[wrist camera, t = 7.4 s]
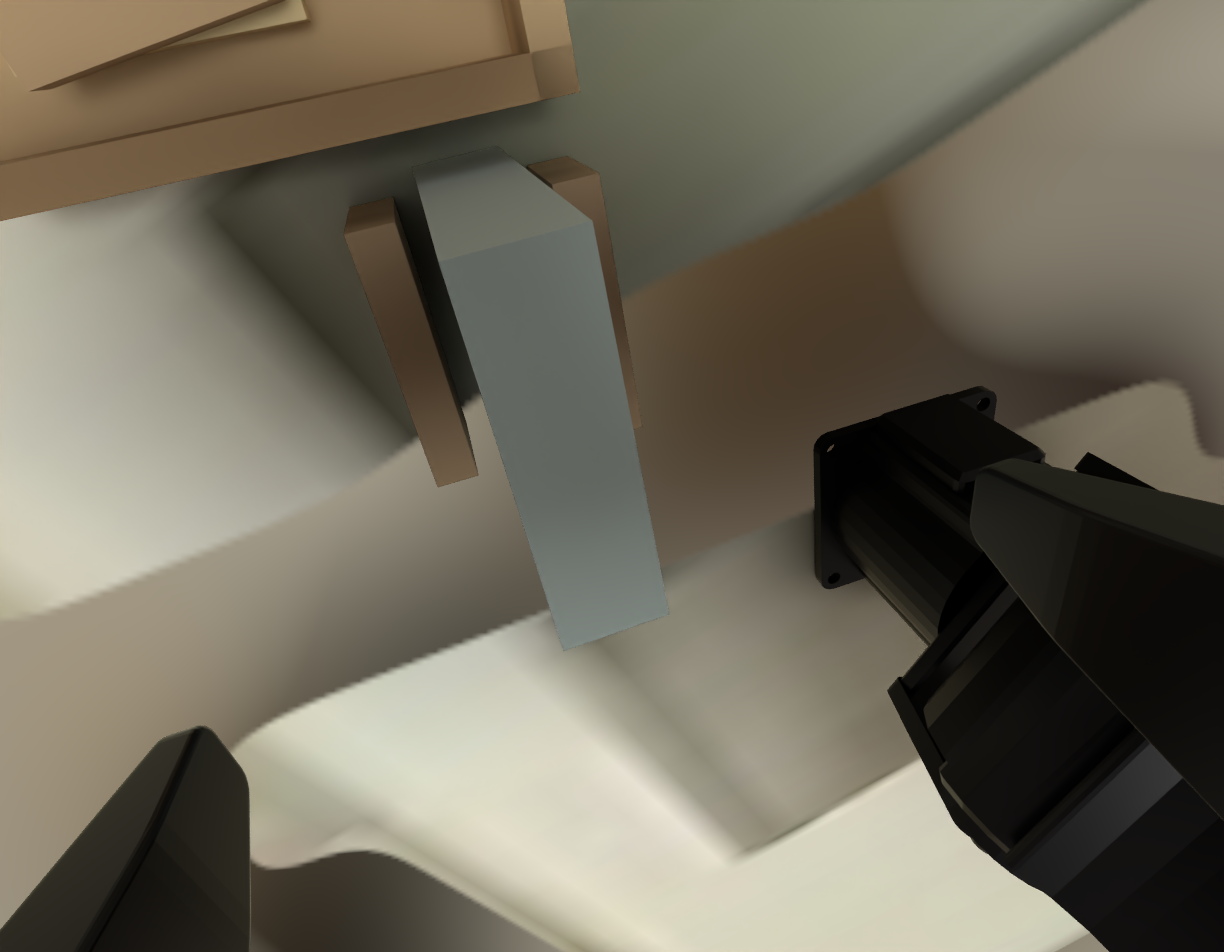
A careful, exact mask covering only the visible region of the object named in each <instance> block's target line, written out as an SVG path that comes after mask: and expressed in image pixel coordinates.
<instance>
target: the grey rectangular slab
mask: <svg viewBox="0 0 1224 952" xmlns="http://www.w3.org/2000/svg"><path fill="white" fill-rule="evenodd" d="M412 169H413V172H414V176H415V180H416V183H417V187H418V190H419V194H420V198H421V201H422V205H423V208H424V212H425V216H426V219H427V223H428V226H429V230H430V234H431V237H432V241H433V244H434V248H435V251H436V255H437V259H438V262H439V265H440V268H441V272H442V275H443V278H444V281H445V284H446V287H447V290H448V293H449V296H450V300H451V303H452V306H453V309H454V312H455V315H456V318H457V321H458V324H459V327H460V331H461V334H462V337H463V340H464V343H465V346H466V349H467V352H468V355H469V359H470V362H471V365H472V368H473V371H474V374H475V377H476V380H477V383H478V387H479V390H480V393H481V396H482V399H483V402H484V405H485V408H486V411H487V415H488V418H489V421H490V424H491V427H492V430H493V433H494V436H495V439H496V443H497V446H498V448H499V452H500V455H501V458H502V461H503V464H504V467H505V471H506V474H507V477H508V480H509V483H510V486H511V489H512V492H513V495H514V498H515V502H516V504H517V508H518V511H519V514H520V517H521V520H522V523H523V527H524V530H525V533H526V536H527V539H528V542H529V545H530V548H531V551H532V555H533V557H534V561H535V564H536V567H537V570H538V573H539V576H540V579H541V583H542V585H543V589H544V592H545V595H546V598H547V601H548V604H549V607H550V611H551V614H552V617H553V620H554V623H555V626H556V629H557V632H558V635H559V639H560V642H561V645H562V648H563V651H565V650H568V649H571V648H574V647H577V646H580V645H583V644H586V643H588V642H591V641H594V640H597V639H600V638H603V637H606V636H609V635H612V634H614V633H617V632H620V631H623V630H626V629H629V628H632V627H635V626H638V625H640V624H643V623H646V622H649V621H652V620H655V619H658V618H661V617H664V616H666V615H669V610H668V605H667V600H666V595H665V589H664V584H663V579H662V574H661V569H660V564H659V559H658V554H657V549H656V543H655V538H654V533H653V528H652V523H651V519H650V513H649V508H648V502H647V497H646V492H645V487H644V482H643V477H642V472H641V467H640V462H639V456H638V452H637V447H636V441H635V436H634V431H633V426H632V421H631V415H630V410H629V405H628V400H627V395H626V390H625V385H624V380H623V374H622V369H621V364H620V359H619V354H618V349H617V344H616V339H615V334H614V328H613V323H612V318H611V313H610V308H609V303H608V298H607V293H606V287H605V282H604V277H603V272H602V267H601V262H600V257H599V252H598V247H597V241H596V236H595V231H594V226H593V221H592V220H591V219H590V218H588V217H587V216H586V215H584V214H583V213H582V212H581V211H579V210H578V209H577V208H575V207H574V206H573V205H572V204H570V203H569V202H568V201H566V200H565V199H564V198H563V197H561V196H560V195H559V194H557V193H556V192H555V191H554V190H552V189H551V188H550V187H549V186H547V185H546V184H545V183H543V182H542V181H541V180H540V179H538V178H537V177H536V176H534V175H533V174H532V173H531V172H529V171H528V170H527V169H525V168H524V167H523V166H522V165H520V164H519V163H518V162H516V161H515V160H514V159H513V158H511V157H510V156H509V155H507V154H506V153H505V152H504V151H502V150H501V149H500V148H498V147H497V146H495V147H491V148H487V149H483V150H479V151H475V152H471V153H467V154H463V155H459V156H455V157H451V158H447V159H442V160H438V161H434V162H430V163H426V164H422V165H418V166H414V167H412Z"/></svg>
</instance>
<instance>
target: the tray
mask: <svg viewBox="0 0 1224 952" xmlns="http://www.w3.org/2000/svg"><path fill="white" fill-rule="evenodd" d="M305 3H306V6H307V9H308V12H309V14H310V17H311V20H312V21H311V22H306V23H301V24H296V25H291V26H286V27H281V28H276V29H271V30H266V31H261V32H255V33H250V34H245V35H240V36H235V37H230V38H225V39H220V40H215V41H210V42H205V43H200V44H195V45H190V46H185V47H180V48H175V49H170V50H164V51H159V52H154V53H149V54H144V55H141V56H138V57H135V58H133V59H130V60H127V61H125V62H122V63H120V64H117V65H114V66H112V67H109V68H106V69H104V70H101V71H99V72H96V73H93V74H91V75H88V76H85V77H83V78H80V79H77V80H75V81H72V82H70V83H67V84H64V85H62V86H59V87H56V88H54V89H50V90H40V91H30V92H28V91H27V90H26V88H25V87H24V85H23V84H22V83H21V81H20V80H19V78H18V77H15V76H14V74H13V72H12V71H11V69H10V67H9V65H8V63H7V62H6V60H5V58H4V57H3V56H2V54H1V53H0V221H3V220H8V219H12V218H17V217H21V216H26V215H30V214H35V213H39V212H44V211H48V210H53V209H57V208H62V207H66V206H71V205H75V204H80V203H84V202H89V201H93V200H98V199H102V198H107V197H111V196H116V195H120V194H125V193H129V192H134V191H138V190H142V189H147V188H151V187H156V186H160V185H165V184H169V183H174V182H178V181H183V180H187V179H192V178H196V177H201V176H205V175H210V174H214V173H219V172H223V171H228V170H232V169H237V168H241V167H246V166H250V165H255V164H259V163H264V162H268V161H273V160H277V159H282V158H286V157H291V156H295V155H300V154H304V153H309V152H313V151H318V150H322V149H326V148H331V147H335V146H340V145H344V144H349V143H353V142H358V141H362V140H367V139H371V138H376V137H380V136H385V135H389V134H394V133H398V132H403V131H407V130H412V129H416V128H421V127H425V126H430V125H434V124H439V123H443V122H448V121H452V120H457V119H461V118H466V117H470V116H475V115H479V114H484V113H488V112H493V111H497V110H501V109H506V108H510V107H515V106H519V105H524V104H528V103H533V102H537V101H542V100H546V99H551V98H555V97H560V96H564V95H569V94H573V93H578V92H580V88H579V82H578V77H577V71H576V65H575V60H574V54H573V48H572V42H571V37H570V31H569V25H568V19H567V14H566V8H565V2H564V0H305Z"/></svg>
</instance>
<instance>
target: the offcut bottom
mask: <svg viewBox="0 0 1224 952" xmlns="http://www.w3.org/2000/svg"><path fill="white" fill-rule="evenodd" d="M311 21H312V20H311V17H310V14H309V12H308V9H307V6H306V3H305V0H285V1H283V2H280V3H278V4H275V5H272V6H270V7H267V8H264V9H262V10H259V11H256V12H254V13H251V14H249V15H246V16H243V17H241V18H238V19H235V20H233V21H230V22H228V23H225V24H222V25H220V26H217V27H214V28H212V29H209V30H206V31H204V32H201V33H199V34H196V35H193V36H191V37H188V38H185V39H183V40H180V41H178V42H175V43H172V44H170V45H167V46H164V47H162V48H159V49H156V50H154V51H151V52H149V53H154V52H159V51H164V50H170V49H175V48H180V47H185V46H190V45H195V44H200V43H205V42H210V41H215V40H220V39H225V38H230V37H235V36H240V35H245V34H250V33H255V32H261V31H266V30H271V29H276V28H281V27H286V26H291V25H296V24H301V23H306V22H311ZM149 53H146V54H149ZM143 55H144V54H143ZM6 62H7V61H6ZM8 65H9V64H8ZM9 67H10V66H9ZM10 69H11V71H12V72H13V74H14V76H15V77H17V76H16V74H15V73H14V71H13V70H12V68H11V67H10Z"/></svg>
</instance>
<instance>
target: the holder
mask: <svg viewBox="0 0 1224 952" xmlns="http://www.w3.org/2000/svg"><path fill="white" fill-rule="evenodd" d="M527 168H528V171H529V172H531V173H532V174H533V175H534V176H536V177H537V178H538V179H540V180H541V181H542V182H543V183H545V184H546V185H547V186H549V187H550V188H551V189H552V190H554V191H555V192H556V193H557V194H559V195H560V196H561V197H563V198H564V199H565V200H566V201H568V202H569V203H570V204H572V205H573V206H574V207H575V208H577V209H578V210H579V211H581V212H582V213H583V214H584V215H586V216H587V217H588V218H590V219H591V220H592V221H593V226H594V231H595V236H596V241H597V247H598V252H599V257H600V262H601V267H602V272H603V277H604V282H605V287H606V293H607V298H608V303H609V308H610V313H611V318H612V323H613V328H614V334H615V339H616V344H617V349H618V354H619V359H620V364H621V369H622V374H623V380H624V385H625V390H626V395H627V400H628V405H629V410H630V415H631V421H632V426H633V430H634V429H638V428H641V427H642V420H641V414H640V409H639V403H638V397H637V391H636V385H635V379H634V373H633V368H632V362H631V356H630V350H629V345H628V339H627V333H626V327H625V321H624V315H623V309H622V303H621V298H620V292H619V286H618V280H617V274H616V268H615V262H614V257H613V251H612V245H611V239H610V233H609V227H608V222H607V216H606V210H605V204H604V198H603V192H602V186H601V181H600V175H599V173H598V172H596V171H594V170H592V169H590V168H589V167H587V166H585V165H583V164H581V163H579V162H578V161H576V160H574V159H572V158H570V157H568V156H565V157H561V158H557V159H553V160H548V161H544V162H540V163H536V164H531V165H527ZM344 237H345V240H346V243H347V245H348V248H349V251H350V253H351V256H352V259H353V261H354V264H355V267H356V269H357V272H358V275H359V277H360V280H361V283H362V285H363V288H364V291H365V294H366V296H367V299H368V302H369V304H370V307H371V310H372V312H373V315H374V318H375V320H376V323H377V326H378V328H379V331H380V334H381V336H382V339H383V342H384V345H385V347H386V350H387V353H388V355H389V358H390V361H391V363H392V366H393V369H394V371H395V374H396V377H397V379H398V382H399V385H400V387H401V390H402V393H403V396H404V398H405V401H406V404H407V406H408V409H409V412H410V414H411V417H412V420H413V422H414V425H415V428H416V430H417V433H418V436H419V438H420V441H421V444H422V446H423V449H424V452H425V455H426V457H427V460H428V463H429V465H430V468H431V471H432V473H433V476H434V479H435V481H436V484H437V486H438V487H441V486H444V485H447V484H451V483H454V482H458V481H461V480H464V479H467V478H471V477H475V476H478V471H477V467H476V462H475V458H474V454H473V449H472V445H471V441H470V437H469V432H468V428H467V423H466V420H465V417H464V414H463V411H462V408H461V405H460V401H459V398H458V395H457V392H456V389H455V386H454V383H453V380H452V377H451V374H450V371H449V368H448V365H447V362H446V359H445V355H444V352H443V349H442V346H441V343H440V340H439V337H438V334H437V331H436V328H435V325H434V322H433V319H432V316H431V313H430V309H429V306H428V303H427V300H426V297H425V294H424V291H423V288H422V285H421V282H420V279H419V276H418V273H417V270H416V267H415V263H414V260H413V257H412V254H411V251H410V248H409V245H408V242H407V239H406V236H405V233H404V230H403V227H402V224H401V220H400V217H399V214H398V211H397V208H396V205H395V202H394V199H393V197H391V198H387V199H382V200H378V201H374V202H370V203H365V204H361V205H357V206H353V207H349V212H348V216H347V221H346V226H345V230H344Z"/></svg>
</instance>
